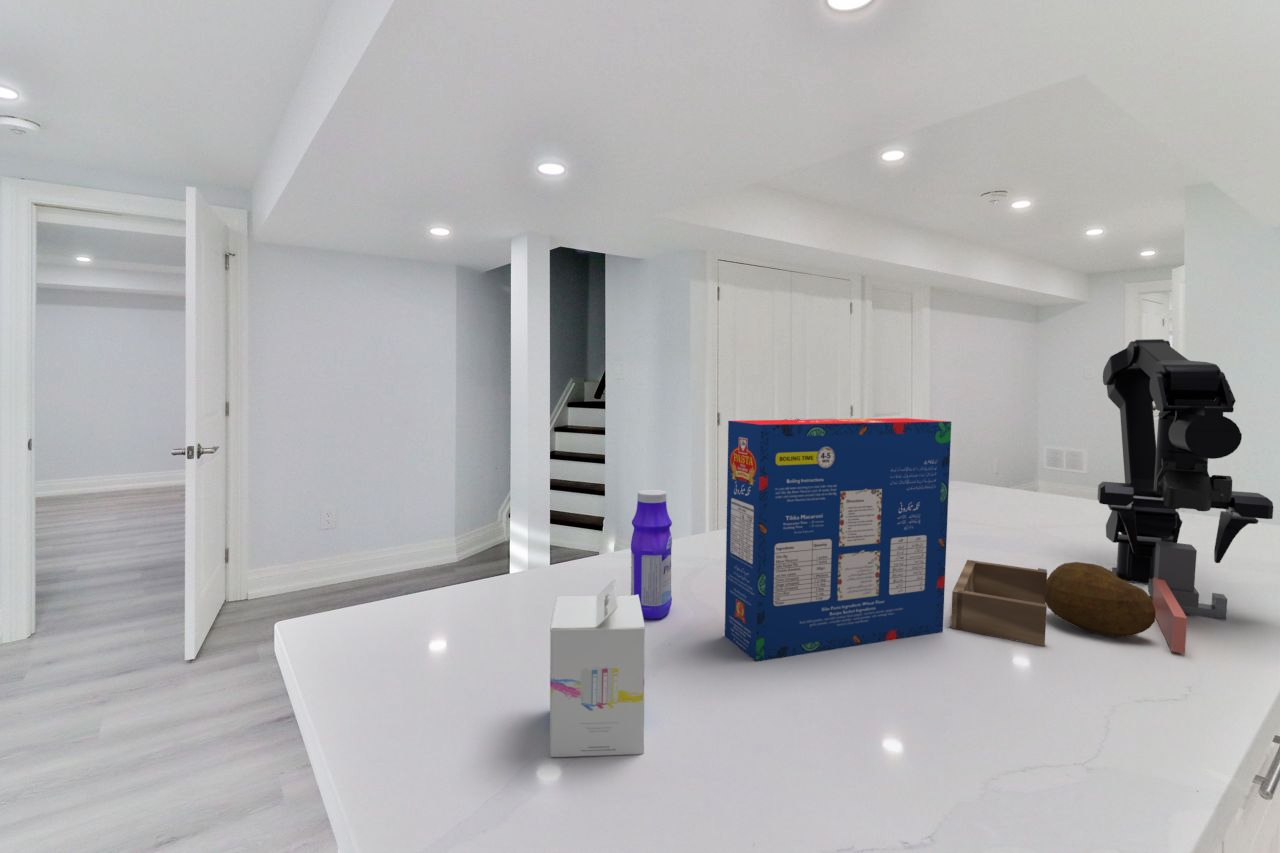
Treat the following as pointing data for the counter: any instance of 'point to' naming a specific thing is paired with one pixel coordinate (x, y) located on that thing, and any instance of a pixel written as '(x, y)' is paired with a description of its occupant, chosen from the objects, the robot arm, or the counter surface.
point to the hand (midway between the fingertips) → (1174, 557)
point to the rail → (1206, 607)
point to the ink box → (597, 675)
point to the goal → (1000, 601)
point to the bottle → (651, 554)
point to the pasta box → (834, 533)
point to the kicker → (1173, 590)
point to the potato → (1098, 600)
